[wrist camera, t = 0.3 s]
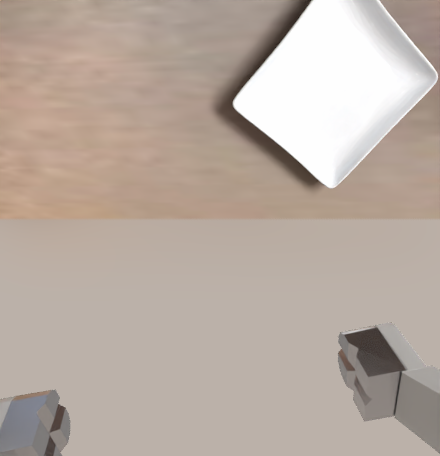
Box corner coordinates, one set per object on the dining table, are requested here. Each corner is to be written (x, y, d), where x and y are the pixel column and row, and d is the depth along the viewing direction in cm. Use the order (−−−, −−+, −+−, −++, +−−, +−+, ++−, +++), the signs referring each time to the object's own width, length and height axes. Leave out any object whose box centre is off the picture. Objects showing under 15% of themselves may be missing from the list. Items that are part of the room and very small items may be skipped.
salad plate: (429, 74, 55) (444, 77, 52) (324, 184, 61) (333, 192, 58) (334, -41, 47) (346, -45, 44) (225, 100, 53) (228, 105, 50)
